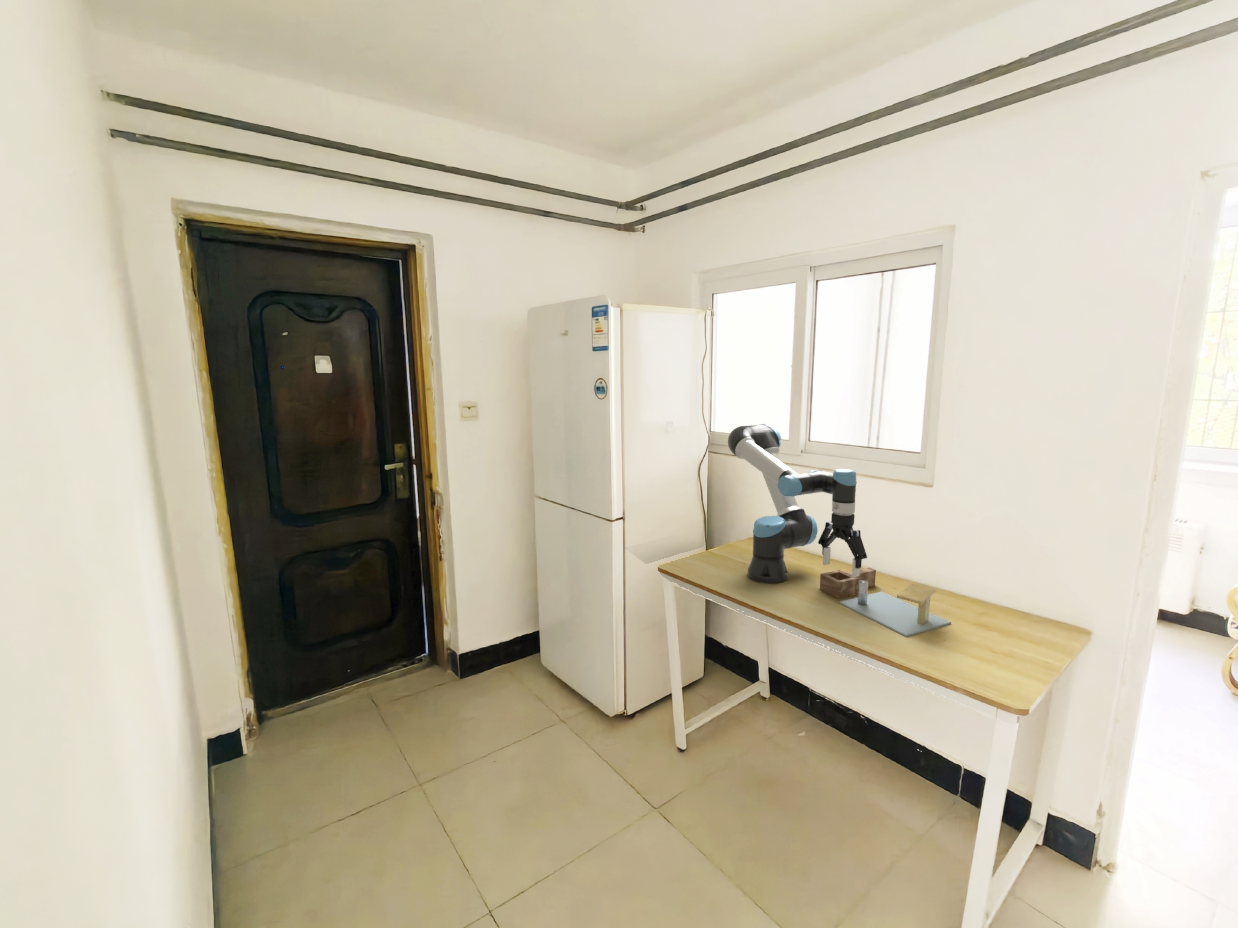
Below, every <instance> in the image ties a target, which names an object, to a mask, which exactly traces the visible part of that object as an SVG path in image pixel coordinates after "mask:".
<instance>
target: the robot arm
mask: <svg viewBox="0 0 1238 928" xmlns="http://www.w3.org/2000/svg"><path fill="white" fill-rule="evenodd" d="M781 440H782V437H781V433H780V432H779V429H777V428H776V427H775V426H774V425H771V424H765V423H764V424H763V423H761V424H757V425H756V424H755V425H739V426H737V427H736V428H734V429H733V430H732V431H730V433H729V434H728V439H727V446H728V449H729V450H730V452H731V453H732V454H733V455H734V456H735V457H737V458H738V459H739V460H740V459H741V460H745V461H746V462H747V463H749V464H750V465H751V466H753V467H754V468H755V469H757V470H758V471H760V472H761V473H762V476H763V479H764V482H765V484H766V486H767V489H768V491H769V494H770V497H771V500H772V501H773V505H774V507H775V509H776V513H777V514H776V515H766V516H761V517H758V518H757V519H756V520H754V523H753V530H752V532H753V533H752V537H753V538H752V539H753V540H752V557H751V558H752V559H751V560H750V564H749V566H748V567H747V577H748V578H749V579H750V580H752V581H755V582H757V583H762V584H774V585H775V584H780V583H784V582H786V581H787V580H788V577H789V576H788V569H787V566H786V563H785V562H786V561H785V559H784V557H785V550H786V549H792V548H798V547H804V546H807V545H810V544H812V543H813V542H815V540H816V538H817V535H818V525H817V522H816V520H815V518H814V517H812V516H811V515H809V514H806V511H805V509H804V508H803V507H800V506H799V505H798V504H799V503H798V502H797V499H796V497H797V496H802V495H803V496H804V495H809V494H810V495H811V494H816V493H825V494H829V495H831V496H832V498H831V502H832V503H831V512H832V513H831V521H827V522H825V526H824V529H823V531H822V533H821V535H820V537H819V539H818V541H817V544H818V545H820V546H821V547H822V550H821V551H822V552H821V553H822V556H823V557H822V565H823V566H827V565H830V564H831V552H832V551H831V544H832V543H833V542H834V541H835V540H836V539H840V540H843V541H844V542H845V543H846V544H847V546H848V548H849V550H850V551H851V554H852V556H853V557H854V558H852V567H851V571H852V577H857V576H859V573H860V569H862V560H865V559H867V558H868V555H867V552H866V549H865V546H864V543H863V540H862V536H861V530H860V529H858V530H857V529H854V528H853V526H854V525H855V516H856V515H855V511H856V491H857V488H856V487H857V473H856V471H855V470H853V469H848V468H846V469H845V468H837V469H836V468H835V469H834V471H833V472H829V471H824V470H821V469H813V470H812V469H811V470H810V471H809V472H805V473H798V472H797V471H795V470H793V468H791V467H789V466H788V465H786V464H785V463H783V462H782V461H781V460H780V457H779V452H780V447H781V444H782V442H781Z"/></svg>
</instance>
